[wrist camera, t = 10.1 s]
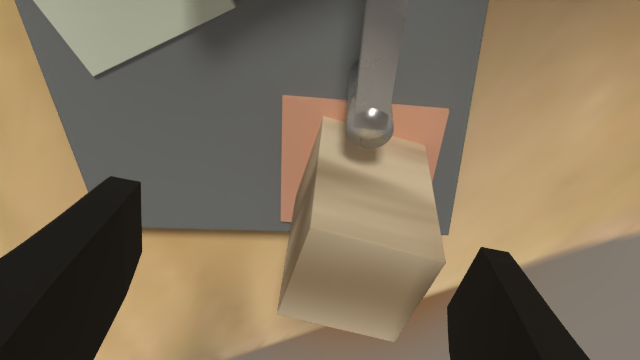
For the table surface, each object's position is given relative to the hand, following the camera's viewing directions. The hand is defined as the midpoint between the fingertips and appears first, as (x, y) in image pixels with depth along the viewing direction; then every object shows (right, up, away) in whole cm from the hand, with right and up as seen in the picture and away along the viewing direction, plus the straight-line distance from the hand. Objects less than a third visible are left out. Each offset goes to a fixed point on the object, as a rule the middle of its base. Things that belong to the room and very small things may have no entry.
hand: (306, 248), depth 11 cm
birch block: (+2, +2, +9) cm, 10 cm away
